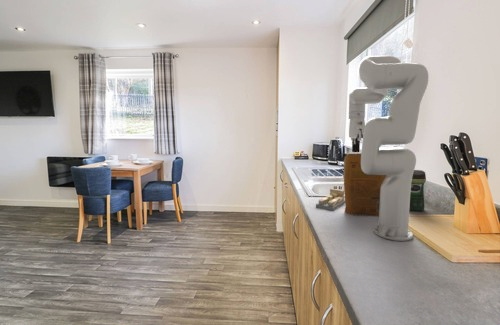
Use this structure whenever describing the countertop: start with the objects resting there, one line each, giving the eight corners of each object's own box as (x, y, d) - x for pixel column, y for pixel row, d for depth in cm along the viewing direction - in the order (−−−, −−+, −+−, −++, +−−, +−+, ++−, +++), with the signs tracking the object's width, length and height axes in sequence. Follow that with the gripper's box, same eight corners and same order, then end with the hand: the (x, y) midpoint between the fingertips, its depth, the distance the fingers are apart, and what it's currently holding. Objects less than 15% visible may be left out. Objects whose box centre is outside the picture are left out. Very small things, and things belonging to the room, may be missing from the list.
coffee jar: (421, 207, 127) (424, 169, 124) (425, 212, 119) (428, 171, 117) (398, 205, 130) (400, 168, 127) (401, 210, 123) (404, 171, 120)
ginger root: (332, 206, 126) (332, 196, 125) (318, 203, 130) (318, 194, 130) (343, 199, 137) (344, 190, 136) (330, 197, 141) (331, 188, 140)
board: (333, 210, 125) (333, 200, 124) (315, 207, 130) (316, 197, 130) (349, 200, 140) (349, 192, 139) (332, 198, 146) (332, 189, 145)
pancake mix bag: (389, 218, 113) (393, 153, 109) (342, 215, 117) (344, 153, 114) (385, 213, 120) (388, 151, 116) (341, 210, 124) (342, 151, 120)
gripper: (370, 114, 126) (369, 153, 128) (358, 116, 140) (357, 150, 143) (354, 115, 126) (353, 153, 128) (344, 116, 141) (343, 151, 143)
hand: (355, 152), depth 135 cm, fingers closed
